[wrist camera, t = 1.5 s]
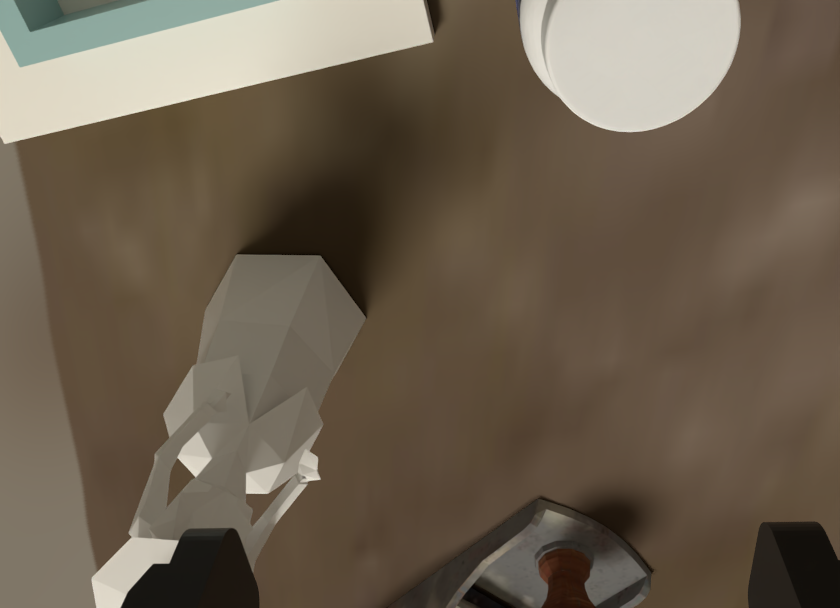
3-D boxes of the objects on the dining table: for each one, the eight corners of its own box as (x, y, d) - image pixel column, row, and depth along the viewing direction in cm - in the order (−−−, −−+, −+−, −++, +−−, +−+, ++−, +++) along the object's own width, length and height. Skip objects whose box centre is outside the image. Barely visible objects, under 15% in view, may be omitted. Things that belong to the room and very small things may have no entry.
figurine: (385, 281, 35) (303, 650, 20) (323, 402, 39) (218, 780, 24) (237, 219, 33) (30, 561, 18) (191, 350, 38) (-8, 714, 23)
